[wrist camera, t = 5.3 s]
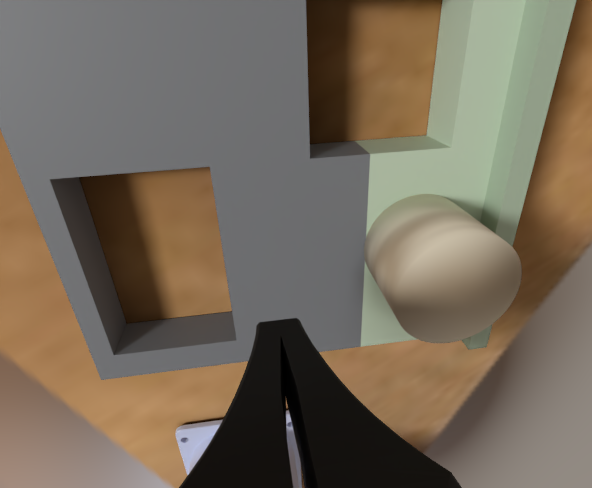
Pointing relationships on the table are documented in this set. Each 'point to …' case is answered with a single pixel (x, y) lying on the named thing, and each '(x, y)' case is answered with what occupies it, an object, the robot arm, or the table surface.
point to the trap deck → (259, 155)
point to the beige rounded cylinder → (440, 268)
